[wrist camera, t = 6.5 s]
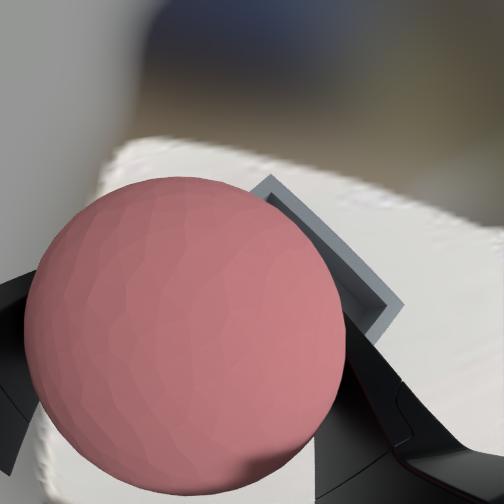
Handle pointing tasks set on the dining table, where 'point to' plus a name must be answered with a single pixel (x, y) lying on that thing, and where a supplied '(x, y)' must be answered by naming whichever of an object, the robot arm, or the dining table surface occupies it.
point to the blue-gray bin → (339, 264)
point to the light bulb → (184, 336)
